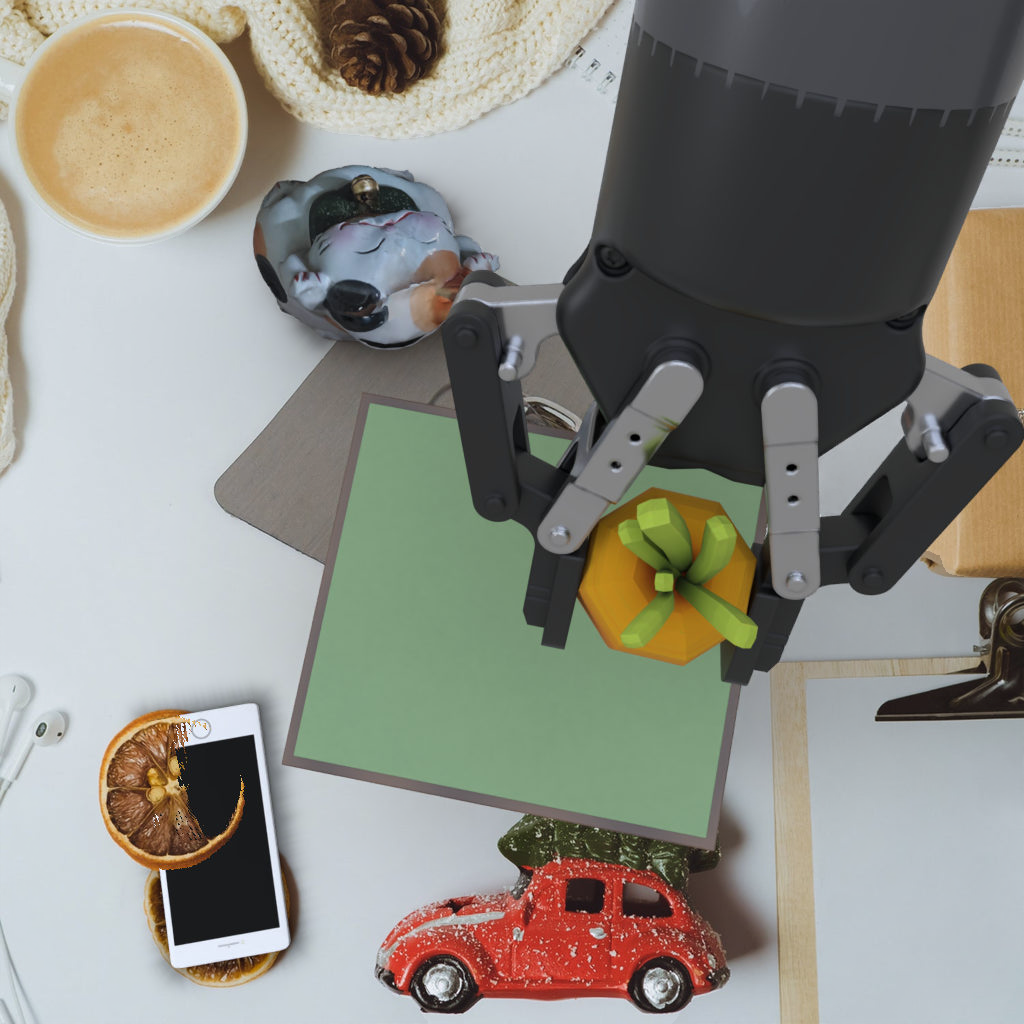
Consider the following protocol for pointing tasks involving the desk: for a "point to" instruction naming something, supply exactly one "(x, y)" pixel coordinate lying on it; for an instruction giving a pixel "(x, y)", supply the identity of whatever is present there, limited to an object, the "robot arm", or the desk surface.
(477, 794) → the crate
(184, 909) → the cell phone
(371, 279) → the lucky cat figurine
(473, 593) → the cloth
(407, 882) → the desk surface
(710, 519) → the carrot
